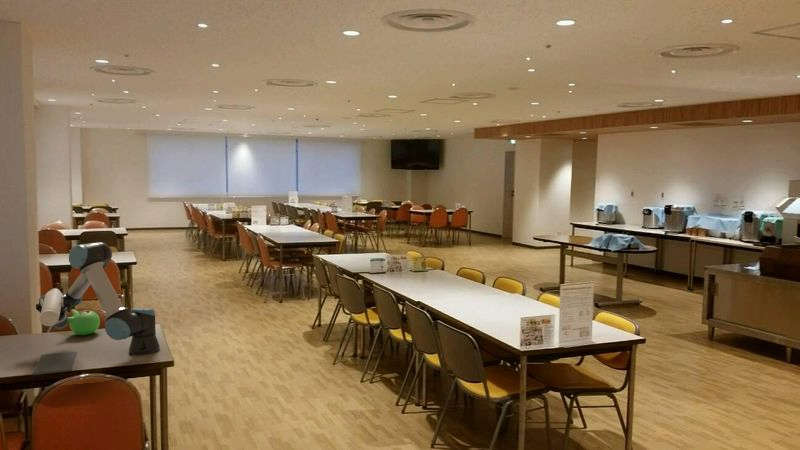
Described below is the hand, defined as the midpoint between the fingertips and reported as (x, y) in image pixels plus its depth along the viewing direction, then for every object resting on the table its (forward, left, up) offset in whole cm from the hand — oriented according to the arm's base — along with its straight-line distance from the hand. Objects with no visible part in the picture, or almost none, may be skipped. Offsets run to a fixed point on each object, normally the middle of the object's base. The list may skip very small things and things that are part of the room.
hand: (51, 300), depth 303 cm
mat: (+2, -2, -32) cm, 32 cm away
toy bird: (+38, -44, -33) cm, 66 cm away
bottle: (-9, +7, -6) cm, 13 cm away
